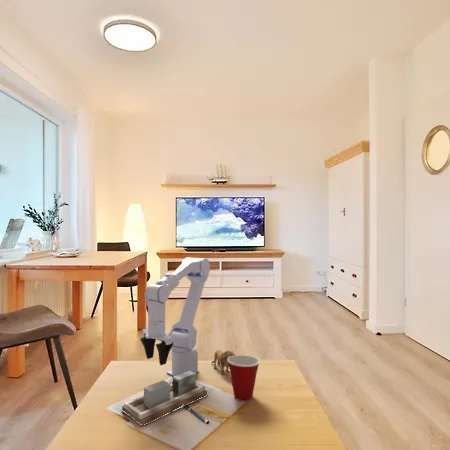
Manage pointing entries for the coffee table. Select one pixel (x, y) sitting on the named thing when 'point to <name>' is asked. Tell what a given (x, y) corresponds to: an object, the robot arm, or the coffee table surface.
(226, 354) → the lion figurine
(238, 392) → the plastic cup
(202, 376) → the coffee table surface
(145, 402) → the gripped grey block
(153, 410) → the raised edge track
